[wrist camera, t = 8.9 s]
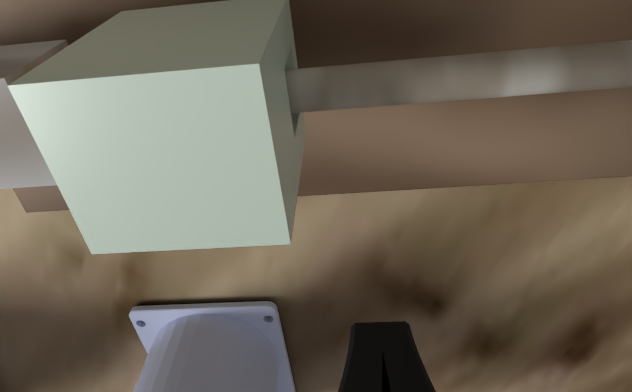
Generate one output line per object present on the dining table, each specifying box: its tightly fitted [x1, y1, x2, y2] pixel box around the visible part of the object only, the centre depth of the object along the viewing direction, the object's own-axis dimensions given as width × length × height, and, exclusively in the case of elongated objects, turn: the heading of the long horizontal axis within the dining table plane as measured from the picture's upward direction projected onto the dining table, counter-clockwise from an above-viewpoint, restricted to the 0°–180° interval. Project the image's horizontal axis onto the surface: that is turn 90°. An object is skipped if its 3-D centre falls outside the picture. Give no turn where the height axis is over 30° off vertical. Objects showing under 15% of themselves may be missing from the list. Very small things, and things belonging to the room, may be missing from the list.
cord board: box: [0, 0, 632, 212], centre depth 14 cm, size 12×28×6 cm, turn 96°
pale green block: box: [8, 0, 306, 254], centre depth 13 cm, size 4×5×6 cm
